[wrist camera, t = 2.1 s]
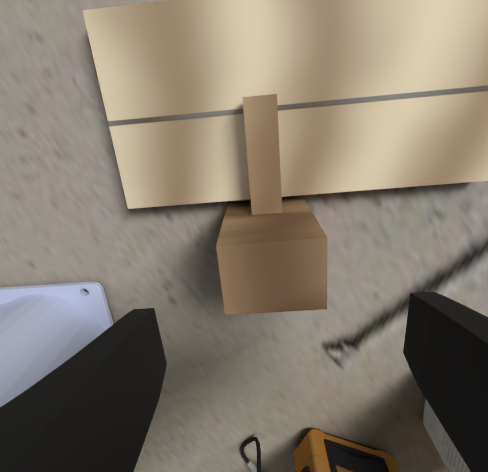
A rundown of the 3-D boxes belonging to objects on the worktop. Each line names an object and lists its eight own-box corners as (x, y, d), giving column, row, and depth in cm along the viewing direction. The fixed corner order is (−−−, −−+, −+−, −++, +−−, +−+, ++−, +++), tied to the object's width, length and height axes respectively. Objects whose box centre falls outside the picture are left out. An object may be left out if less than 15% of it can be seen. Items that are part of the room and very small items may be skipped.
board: (136, 202, 17) (127, 209, 16) (96, 18, 14) (82, 10, 13) (479, 175, 16) (496, 180, 15) (516, -29, 13) (542, -44, 12)
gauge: (233, 252, 18) (224, 314, 12) (217, 102, 15) (196, 95, 10) (303, 247, 18) (326, 309, 12) (300, 94, 15) (328, 82, 9)
